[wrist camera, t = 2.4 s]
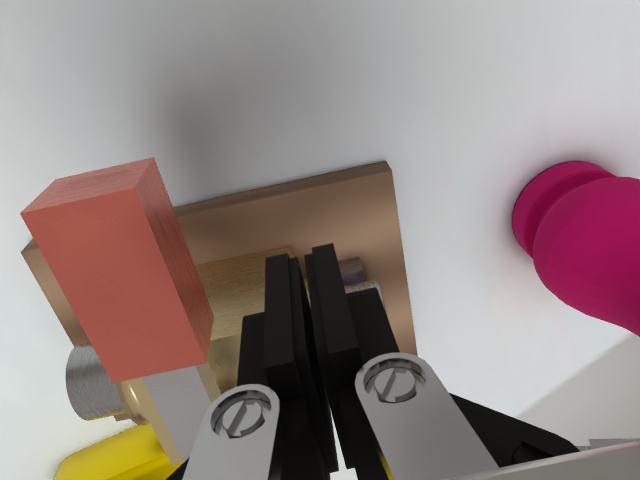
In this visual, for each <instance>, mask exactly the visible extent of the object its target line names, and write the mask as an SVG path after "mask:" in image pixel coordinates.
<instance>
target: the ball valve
mask: <svg viewBox="0 0 640 480" xmlns="http://www.w3.org/2000/svg"><path fill="white" fill-rule="evenodd" d="M285 253H288V255H289V258H294V257H295V253H294V249H293V246H292V244H290V245H286V246H281V247H276V248H272V249H267V250H263V251H258V252H254V253H249V254H245V255H240V256H235V257H231V258H226V259H222V260H217V261H213V262H208V263H204V264H199V265H195V267H196V270H197V273H198V275H199V278H200V281H201V283H202V286H203V289H204V291H205V294H206V296H207V299H208V302H209V304H210V307H211V310H212V312H213V315H214V321H213V327H212V333H211V339H210V345H209V351H208V357H207V361H208V363H209V366H210V368H211V370H212V373H213V375H214V378H215V380H216V383H217V385H218V388H219V390H220V393H221V395H222V394H223V393H225V392H226V391H229V390H231V389H233V388H235V387H237V376H238V365H239V353H240V342H241V330H242V320H243V317H244V316H247V315H251V314H256V313H260V312H264V304H265V259H266V258H267V257H271V256H276V255H280V254H285ZM338 264H339V268H340V272H341V276H342V280H343V284H344V288H345V292H346V293H350V292H355V291H360V290H364V289H369V288H373V287H376V288H377V290H378V292H379V295H380V298H381V301H382V303H383V306H384V309H385V312H386V308H385V304H384V301H383V297H382V293H381V290H380V287H379V284H378V282H377V280H376V279H375V280H370V281H365V276H364V271H363V267H362V264H361V261H360V258H359V257H354V258H350V259H345V260H341V261H338ZM304 283H305V287H306V291H307V295H308V298H309V302H310V297H309V290H308V282H307V279H304ZM310 306H311V305H310ZM386 315H387V312H386ZM387 317H388V316H387ZM66 387H67V393H68V397H69V400H70V403H71V405H72V407H73V409H74V411H75V412H76V413H77V414H78V416H79V417H81V418H82V419H84V420H94V419H99V418H104V417H108V416H113V415H118V414H122V413H127V414H128V416H129V417H130V418H131V420H132V421H133V422H135V423H136V424H138V425H148V424H150V425H151V427H152V429H153V430H154V432H155V434H156V436H157V438H158V440H159V442H160V444H161V446H162V448H163V450H164V451H165V453H166V455H167V457H168V459H169V461H170V463H171V465H176V464H181V463H183V459H182V457H181V455H180V453H179V451H178V449H177V447H176V445H175V443H174V441H173V439H172V437H171V435H170V433H169V431H168V429H167V427H166V425H165V423H164V421H163V419H162V417H161V415H160V413H159V411H158V409H157V407H156V405H155V403H154V401H153V399H152V397H151V395H150V393H149V391H148V389H147V387H146V385H145V383H144V381H143V379H142V377H140V378H136V379H131V380H127V381H122V382H117V383H112V381H111V379H110V377H109V376H108V374H107V372H106V370H105V368H104V366H103V365H102V363H101V361H100V359H99V357H98V355H97V354H96V352H95V350H94V348H93V346H92V344H91V343H90V342H85V343H81V344H78V345H77V346H75V347H74V349H73V350H72V351H71V353H70V355H69V358H68V362H67V367H66Z"/></svg>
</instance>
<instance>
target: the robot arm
mask: <svg viewBox="0 0 640 480" xmlns="http://www.w3.org/2000/svg"><path fill="white" fill-rule="evenodd" d="M304 258H305V266H306V274H307V282H308V290H309V297H310V302H309V298H308V295H307V291H306V287H305V283H304V279H303V275H302V271H301V267H300V263H299V260H298V257H294V258H289V255H288V253H285V254H280V255H276V256H271V257H267V258H266V259H265V304H264V312H260V313H256V314H251V315H247V316H244V317H243V320H242V330H241V342H240V353H239V365H238V376H237V387H235V388H233V389H231V390H229V391H226V392H225V393H223V394H222V395H221V396H219V397H218V398H216V399H215V401H214V402H213V403H212V404H211V405H210V406H209V407H208V409H207V411H206V413H205V415H204V417H203V420H202V423H201V426H200V429H199V432H198V435H197V438H196V441H195V444H194V447H193V450H192V452H191V455H190V457H189V458H188V459H187V460H186V461H185V462H184V463H183V464H182V465H181V466H180V467H178V468H177V469H176V470H175V471H174V472H173V473H172V474H171V475H170V476H169V477H168V478H167V479H166V480H330V473H332V472H336V471H339V468H338V460H337V453H336V446H335V439H334V432H333V425H332V418H331V412H332V416H333V419H334V423H335V427H336V431H337V435H338V438H339V442H340V446H341V450H342V453H343V457H344V461H345V465H346V468H347V469H350V468H355V470H356V474H357V478H358V480H640V439H639V438H637V439H588V446H574V445H573V444H572V443H571V442H570V441H568V440H566V439H564V438H562V437H560V436H558V435H556V434H554V433H551V432H549V431H546V430H543V429H541V428H538V427H536V426H533V425H531V424H528V423H526V422H523V421H520V420H518V419H515V418H513V417H510V416H507V415H505V414H502V413H500V412H497V411H495V410H492V409H489V408H487V407H484V406H482V405H479V404H477V403H474V402H471V401H469V400H466V399H464V398H461V397H459V396H456V395H453V394H451V393H448V391H447V390H446V388H445V387H444V385H443V384H442V382H441V381H440V380H439V378H438V377H437V375H436V374H435V372H434V371H433V369H432V368H431V367H430V365H429V364H428V363H427V362H426V361H425V360H423V359H421V358H419V357H417V356H415V355H412V354H407V353H400V351H399V348H398V345H397V343H396V340H395V337H394V334H393V331H392V329H391V326H390V323H389V320H388V317H387V315H386V312H385V309H384V306H383V303H382V301H381V298H380V295H379V292H378V290H377V288H376V287H373V288H369V289H364V290H360V291H355V292H350V293H346V292H345V288H344V284H343V280H342V276H341V272H340V268H339V264H338V260H337V256H336V252H335V248H334V244H333V243H330V244H325V245H321V246H316V247H312V254H307V255H304ZM310 305H311V306H310ZM330 408H331V411H330Z"/></svg>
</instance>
